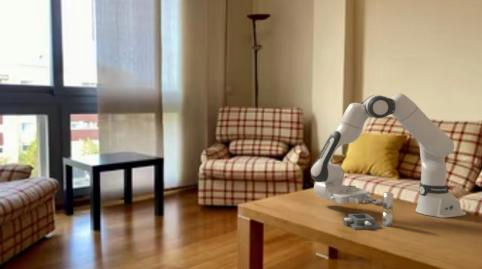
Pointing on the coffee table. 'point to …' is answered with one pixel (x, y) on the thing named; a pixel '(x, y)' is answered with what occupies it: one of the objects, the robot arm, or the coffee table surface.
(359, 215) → the shaft housing
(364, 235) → the coffee table surface
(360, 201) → the pulley system
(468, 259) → the coffee table surface
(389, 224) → the coupler
